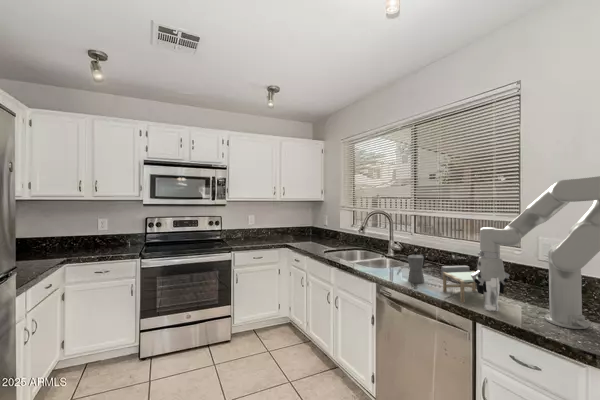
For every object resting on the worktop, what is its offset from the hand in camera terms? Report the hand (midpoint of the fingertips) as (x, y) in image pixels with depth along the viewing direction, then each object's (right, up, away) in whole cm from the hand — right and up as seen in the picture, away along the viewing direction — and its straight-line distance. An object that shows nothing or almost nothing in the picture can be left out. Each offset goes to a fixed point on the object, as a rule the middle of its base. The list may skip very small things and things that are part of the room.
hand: (490, 292), depth 130 cm
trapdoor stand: (0, -7, +17) cm, 18 cm away
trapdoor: (0, 0, +20) cm, 20 cm away
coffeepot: (-15, -8, +45) cm, 48 cm away
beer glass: (0, -7, 0) cm, 7 cm away
